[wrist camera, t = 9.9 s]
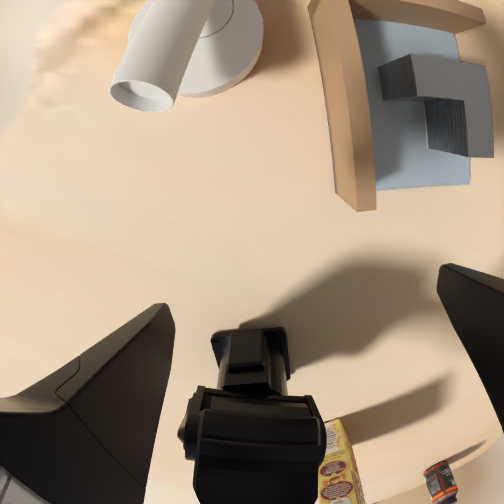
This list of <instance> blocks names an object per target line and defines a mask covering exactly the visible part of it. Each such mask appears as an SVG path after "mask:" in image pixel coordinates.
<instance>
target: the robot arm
mask: <svg viewBox="0 0 504 504" xmlns="http://www.w3.org/2000/svg"><path fill="white" fill-rule="evenodd" d="M437 293H438V295H439V297H440V300H441V302H442V304H443V306H444V308H445V310H446V312H447V314H448V317H449V319H450V321H451V323H452V325H453V327H454V329H455V331H456V333H457V335H458V337H459V338H460V340H461V342H462V344H463V346H464V347H465V349H466V351H467V353H468V355H469V357H470V359H471V361H472V363H473V365H474V367H475V369H476V371H477V373H478V375H479V377H480V379H481V381H482V383H483V385H484V387H485V389H486V392H487V394H488V396H489V398H490V400H491V403H492V405H493V407H494V410H495V412H496V415H497V417H498V419H499V422H500V424H501V426H502V430H503V433H504V279H502V278H499V277H495V276H492V275H489V274H486V273H483V272H479V271H476V270H473V269H469V268H466V267H463V266H459V265H456V264H452V263H448V264H443V265H441V266H440V269H439V275H438V282H437ZM279 332H281V333H282V334H278V333H279ZM174 338H175V323H174V320H173V317H172V314H171V311H170V308H169V306H168V304H166V303H158V304H154V305H152V306H151V307H149V308H148V309H146V310H145V311H143V312H142V313H140V314H139V315H137V316H136V317H135V318H133V319H132V320H130V321H129V322H127V323H126V324H124V325H123V326H121V327H120V328H118V329H117V330H115V331H114V332H113V333H111V334H110V335H108V336H107V337H105V338H104V339H102V340H101V341H99V342H98V343H96V344H95V345H94V346H92V347H91V348H89V349H88V350H86V351H85V352H83V353H82V354H81V355H80V356H77V357H76V358H75V359H73V360H72V361H70V362H69V363H67V364H66V365H64V366H63V367H61V368H60V369H58V370H57V371H55V372H53V373H52V374H50V375H48V376H47V377H45V378H43V379H42V380H40V381H38V382H37V383H35V384H33V385H32V386H30V387H28V388H27V389H25V390H23V391H22V392H20V393H18V394H16V395H14V396H11V397H6V398H0V504H143V503H144V497H145V491H146V489H145V488H146V484H147V479H148V473H149V468H150V463H151V458H152V453H153V448H154V443H155V438H156V433H157V428H158V424H159V419H160V414H161V410H162V405H163V401H164V397H165V392H166V388H167V384H168V379H169V375H170V370H171V364H172V355H173V347H174ZM215 339H218V341H217V340H215ZM211 344H212V348H213V351H214V354H215V357H216V361H217V364H218V367H219V377H218V384H217V389H212V388H205V386H199V385H198V388H197V391H196V393H194V394H193V398H190V399H189V402H188V406H187V411H186V414H185V417H184V419H183V421H182V423H181V425H180V427H179V429H178V438H179V439H180V440H181V442H182V443H183V447H184V450H185V458H186V460H192V461H195V466H194V476H193V488H194V490H195V493H196V496H197V498H198V500H199V502H200V504H314V503H315V502H316V500H317V498H318V470H319V467H320V466H321V464H322V463H323V460H324V458H325V453H326V447H327V434H326V428H325V425H324V422H323V420H322V418H321V415H320V413H319V411H318V409H317V406H316V404H315V402H314V399H313V397H312V395H305V396H288V392H287V382H286V381H288V380H289V379H290V367H289V357H288V348H287V339H286V331H285V329H284V328H282V327H278V328H270V329H261V330H251V331H241V332H232V333H221V334H213V335H212V337H211Z"/></svg>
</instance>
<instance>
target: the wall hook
mask: <svg viewBox="0 0 504 504" xmlns="http://www.w3.org/2000/svg"><path fill="white" fill-rule="evenodd" d="M263 32H264V25H263V18H262V15H261V12H260V9H259V7H258V6H257V4H256V2H255V1H254V0H148V1H147V2H146V3H145V4H144V5H143V6H142V8H141V9H140V10H139V12H138V13H137V15H136V16H135V18H134V20H133V22H132V24H131V27H130V31H129V35H128V48H127V50H126V52H125V54H124V56H123V58H122V60H121V62H120V64H119V66H118V68H117V70H116V72H115V75H114V77H113V79H112V81H111V84H110V86H109V88H108V92H109V95H110V96H111V97H112V98H113V99H114V100H115V101H116V102H118V103H119V104H121V105H123V106H126V107H128V108H131V109H134V110H138V111H142V112H151V113H158V112H165V111H168V110H170V109H171V108H172V107H173V105H174V102H175V99H176V96H181V97H188V98H201V97H208V96H212V95H216V94H219V93H222V92H224V91H226V90H228V89H230V88H232V87H234V86H235V85H237V84H238V83H239V82H241V81H242V80H243V79H244V78H245V77H246V76H247V75H248V74H249V73H250V72H251V70H252V69H253V68H254V66H255V64H256V63H257V61H258V59H259V56H260V54H261V50H262V44H263Z"/></svg>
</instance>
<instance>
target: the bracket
mask: <svg viewBox="0 0 504 504" xmlns="http://www.w3.org/2000/svg"><path fill="white" fill-rule="evenodd" d="M377 68H378V73H379V79H380V85H381V92H382V99H383V101H409V102H424V106H425V115H426V125H427V137H428V148H429V149H434V150H439V151H443V152H448V153H452V154H456V155H461V156H465V157H483V158H494V143H493V124H492V113H491V103H490V95H489V87H488V81H487V75H486V69H485V67H483V66H479V65H475V64H471V63H466V62H461V61H456V60H451V59H445V58H439V57H433V56H426V55H419V54H408V55H405V56H403V57H400V58H398V59H396V60H393V61H391V62H388V63H386V64H384V65H381V66H379V67H377Z"/></svg>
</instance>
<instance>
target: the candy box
mask: <svg viewBox="0 0 504 504" xmlns="http://www.w3.org/2000/svg"><path fill="white" fill-rule="evenodd" d="M324 425H325V428H326V434H327V447H326V453H325V458H324V460H323V463H322V464H321V466H320V467H319V470H318V497H319V504H365V499H364V494H363V490H362V486H361V481H360V477H359V473H358V469H357V465H356V461H355V457H354V453H353V449H352V445H351V443H350V441H349V438H348V436H347V434H346V432H345V430H344V428H343V426H342V424H341V421H340V420H339V419H336V420H333V421H330V422H327V423H324Z"/></svg>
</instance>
